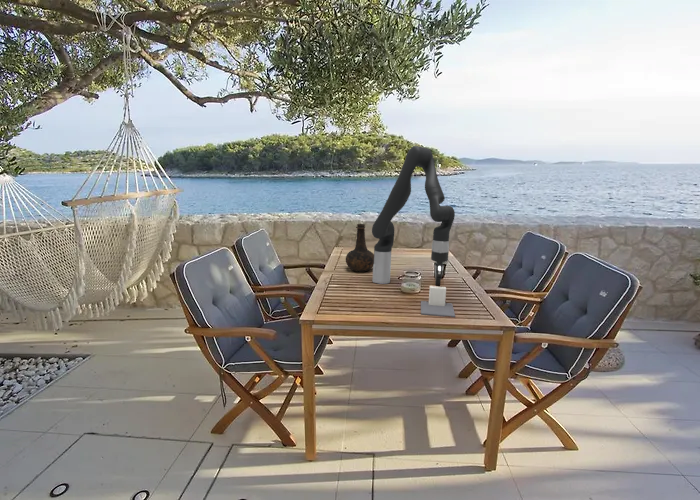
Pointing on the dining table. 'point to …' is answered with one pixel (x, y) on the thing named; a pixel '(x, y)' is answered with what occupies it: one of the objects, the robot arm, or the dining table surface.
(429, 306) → the mat
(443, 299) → the white block copper side
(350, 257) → the glass bottle
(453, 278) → the dining table surface
